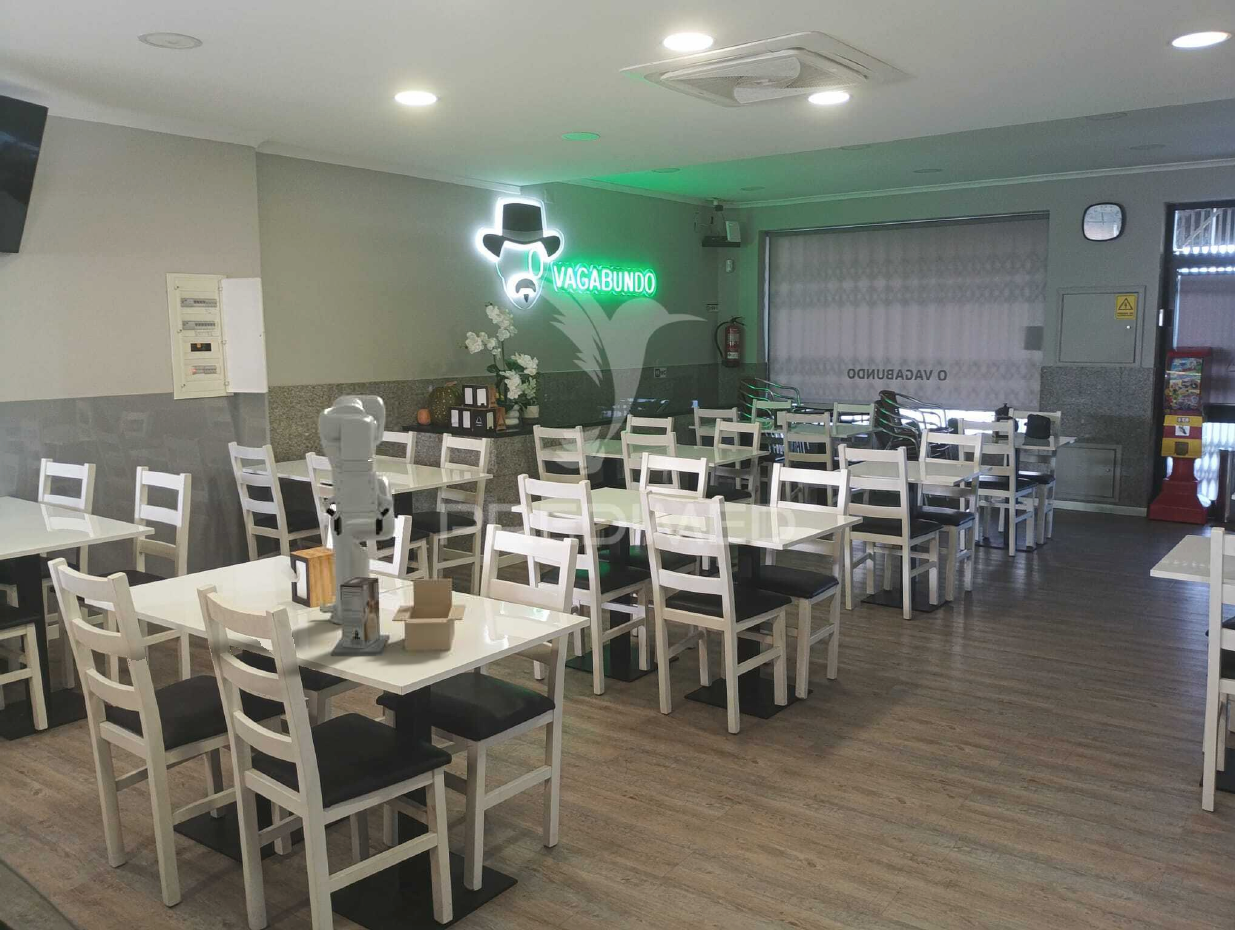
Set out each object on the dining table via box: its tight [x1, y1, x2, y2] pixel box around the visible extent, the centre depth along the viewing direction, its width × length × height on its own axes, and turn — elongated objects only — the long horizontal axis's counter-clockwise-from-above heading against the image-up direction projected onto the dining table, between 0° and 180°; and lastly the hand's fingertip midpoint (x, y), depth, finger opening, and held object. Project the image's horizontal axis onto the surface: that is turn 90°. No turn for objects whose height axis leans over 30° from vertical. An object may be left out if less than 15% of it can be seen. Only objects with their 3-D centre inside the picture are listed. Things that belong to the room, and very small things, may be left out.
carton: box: [392, 578, 467, 652], centre depth 241 cm, size 17×17×15 cm
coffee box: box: [340, 577, 381, 648], centre depth 238 cm, size 9×6×16 cm
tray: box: [331, 634, 391, 657], centre depth 239 cm, size 12×14×1 cm
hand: (358, 534), depth 236 cm, fingers open, 9 cm apart
